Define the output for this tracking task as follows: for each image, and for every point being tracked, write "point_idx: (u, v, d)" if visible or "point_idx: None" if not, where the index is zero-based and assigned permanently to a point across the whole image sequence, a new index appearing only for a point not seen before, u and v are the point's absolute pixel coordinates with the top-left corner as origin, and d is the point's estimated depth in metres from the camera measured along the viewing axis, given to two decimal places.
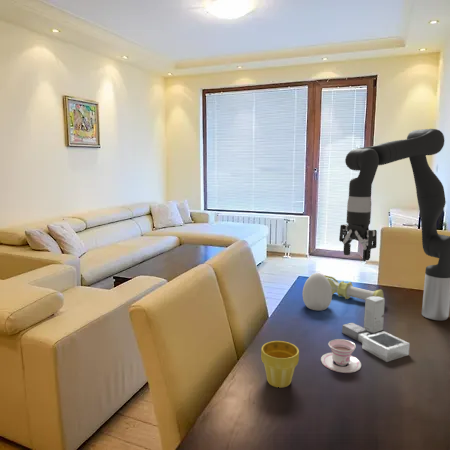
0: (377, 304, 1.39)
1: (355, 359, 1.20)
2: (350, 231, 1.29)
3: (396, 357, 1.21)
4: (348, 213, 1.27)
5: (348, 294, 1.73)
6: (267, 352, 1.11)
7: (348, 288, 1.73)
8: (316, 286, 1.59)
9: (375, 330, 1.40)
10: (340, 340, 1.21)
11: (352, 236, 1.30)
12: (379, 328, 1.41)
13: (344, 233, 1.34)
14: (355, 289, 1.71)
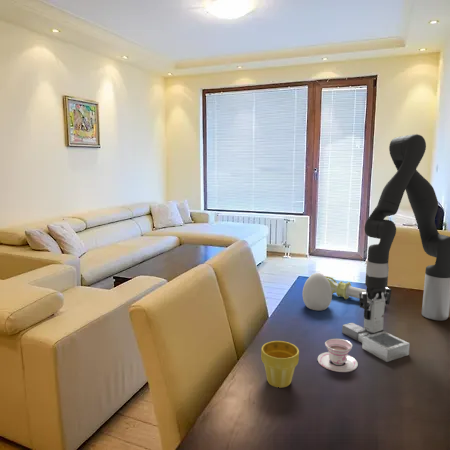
0: (377, 304, 1.39)
1: (352, 359, 1.21)
2: (377, 295, 1.38)
3: (396, 357, 1.21)
4: (382, 279, 1.36)
5: (347, 294, 1.73)
6: (267, 352, 1.11)
7: (347, 288, 1.73)
8: (316, 286, 1.59)
9: (375, 330, 1.40)
10: (337, 339, 1.22)
11: (376, 298, 1.40)
12: (379, 328, 1.41)
13: None
14: (354, 289, 1.71)
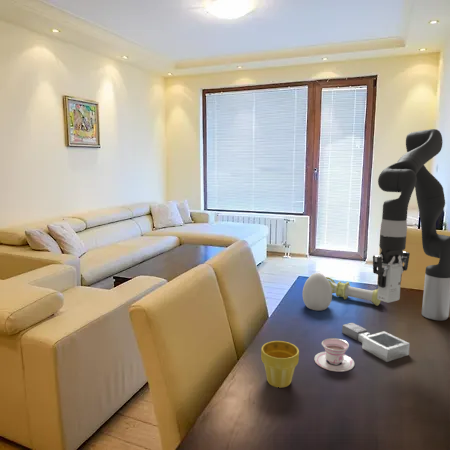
0: (393, 269, 1.20)
1: (349, 358, 1.21)
2: (393, 258, 1.19)
3: (396, 357, 1.21)
4: (400, 239, 1.17)
5: (347, 294, 1.73)
6: (267, 352, 1.11)
7: (346, 288, 1.73)
8: (316, 286, 1.59)
9: (391, 300, 1.21)
10: (334, 339, 1.22)
11: (392, 262, 1.20)
12: (395, 298, 1.22)
13: None
14: (354, 289, 1.72)
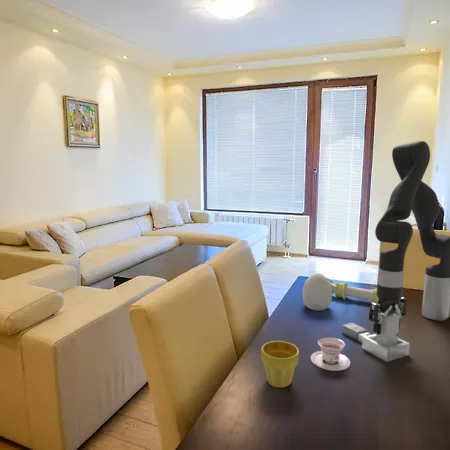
0: (391, 322, 1.22)
1: (345, 358, 1.21)
2: (390, 307, 1.21)
3: (396, 357, 1.21)
4: (397, 290, 1.19)
5: (346, 294, 1.73)
6: (267, 352, 1.11)
7: (346, 288, 1.73)
8: (316, 286, 1.59)
9: None
10: (330, 338, 1.22)
11: None
12: None
13: None
14: (353, 289, 1.72)
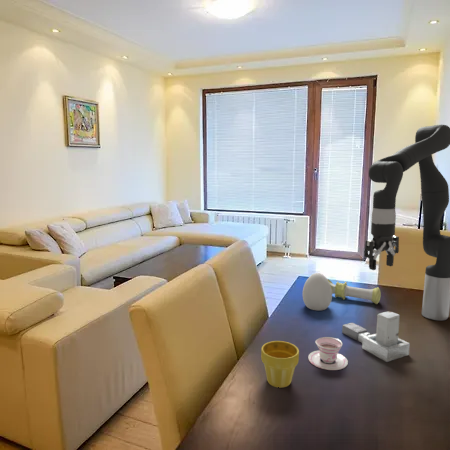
0: (391, 322, 1.22)
1: (342, 357, 1.22)
2: (384, 243, 1.29)
3: (396, 357, 1.21)
4: (390, 226, 1.27)
5: (346, 294, 1.73)
6: (267, 352, 1.11)
7: (346, 288, 1.73)
8: (316, 286, 1.59)
9: None
10: (328, 338, 1.23)
11: None
12: None
13: None
14: (353, 289, 1.72)
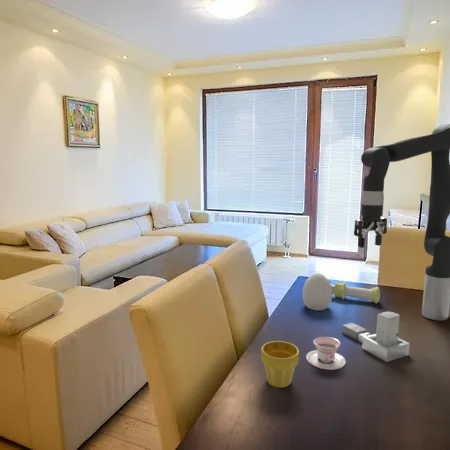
0: (391, 322, 1.22)
1: (340, 357, 1.22)
2: (372, 223, 1.41)
3: (396, 357, 1.21)
4: (377, 207, 1.38)
5: (345, 294, 1.73)
6: (267, 352, 1.11)
7: (345, 288, 1.73)
8: (316, 286, 1.59)
9: None
10: (326, 338, 1.23)
11: (371, 228, 1.42)
12: None
13: None
14: (352, 289, 1.72)
